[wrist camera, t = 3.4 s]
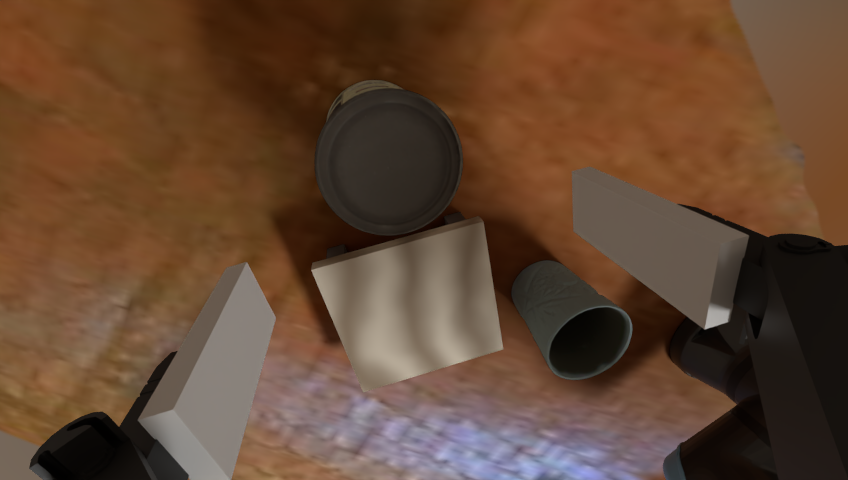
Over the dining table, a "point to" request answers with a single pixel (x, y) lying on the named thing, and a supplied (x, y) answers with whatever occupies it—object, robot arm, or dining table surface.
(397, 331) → the stand
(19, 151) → the dining table surface
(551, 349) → the grey green cup
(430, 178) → the coffee can
